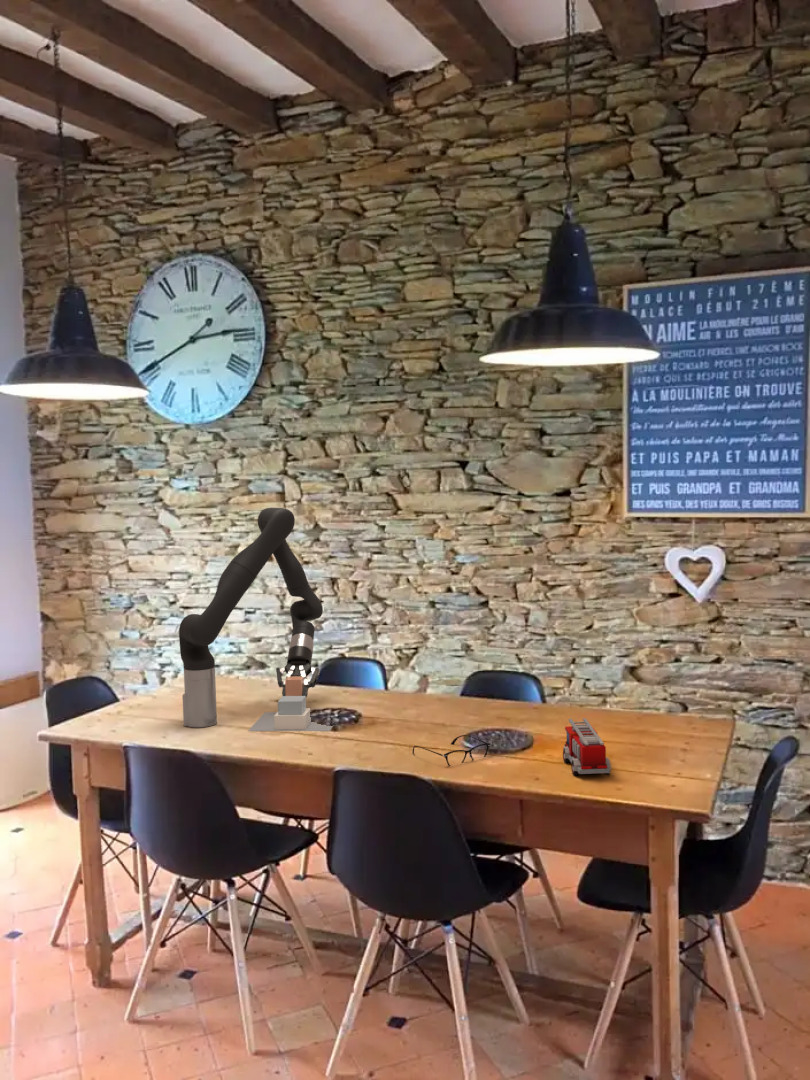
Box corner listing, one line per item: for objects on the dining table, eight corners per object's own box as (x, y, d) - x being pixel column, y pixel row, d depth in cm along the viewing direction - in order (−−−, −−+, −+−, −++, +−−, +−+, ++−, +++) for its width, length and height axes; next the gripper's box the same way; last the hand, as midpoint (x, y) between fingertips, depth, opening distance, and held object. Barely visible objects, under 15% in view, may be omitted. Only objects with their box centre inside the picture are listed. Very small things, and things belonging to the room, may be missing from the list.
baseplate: (247, 733, 269) (247, 731, 269) (264, 714, 291) (264, 712, 291) (330, 733, 268) (330, 730, 267) (341, 714, 289) (340, 711, 289)
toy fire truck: (594, 756, 240) (594, 718, 239) (613, 779, 221) (613, 738, 221) (560, 757, 240) (559, 719, 239) (576, 780, 221) (575, 739, 220)
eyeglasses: (444, 769, 233) (443, 754, 233) (406, 755, 246) (406, 740, 245) (493, 757, 242) (493, 742, 242) (455, 744, 255) (455, 729, 255)
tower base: (274, 729, 270) (273, 702, 270) (280, 721, 279) (280, 695, 279) (305, 729, 270) (304, 702, 269) (310, 721, 278) (309, 695, 278)
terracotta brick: (285, 712, 283) (285, 679, 282) (289, 708, 288) (288, 676, 287) (302, 712, 283) (301, 679, 282) (305, 708, 288) (304, 676, 287)
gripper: (276, 644, 292) (268, 691, 281) (321, 644, 291) (315, 691, 280) (280, 658, 298) (273, 704, 286) (324, 658, 297) (319, 704, 285)
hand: (294, 697), depth 283 cm, fingers closed on terracotta brick, 5 cm apart
